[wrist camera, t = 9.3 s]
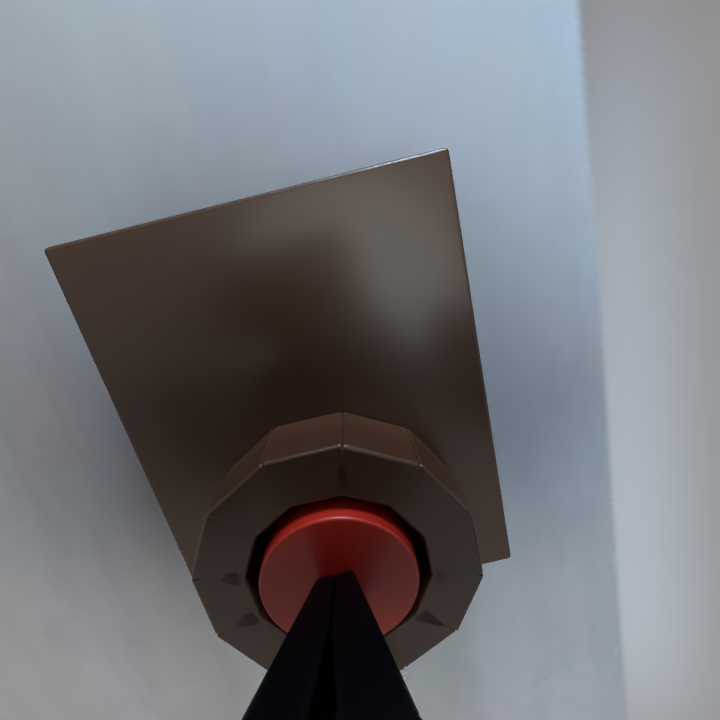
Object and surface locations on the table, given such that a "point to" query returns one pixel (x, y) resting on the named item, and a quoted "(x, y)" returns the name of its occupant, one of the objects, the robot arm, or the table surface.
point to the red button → (339, 558)
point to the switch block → (302, 380)
